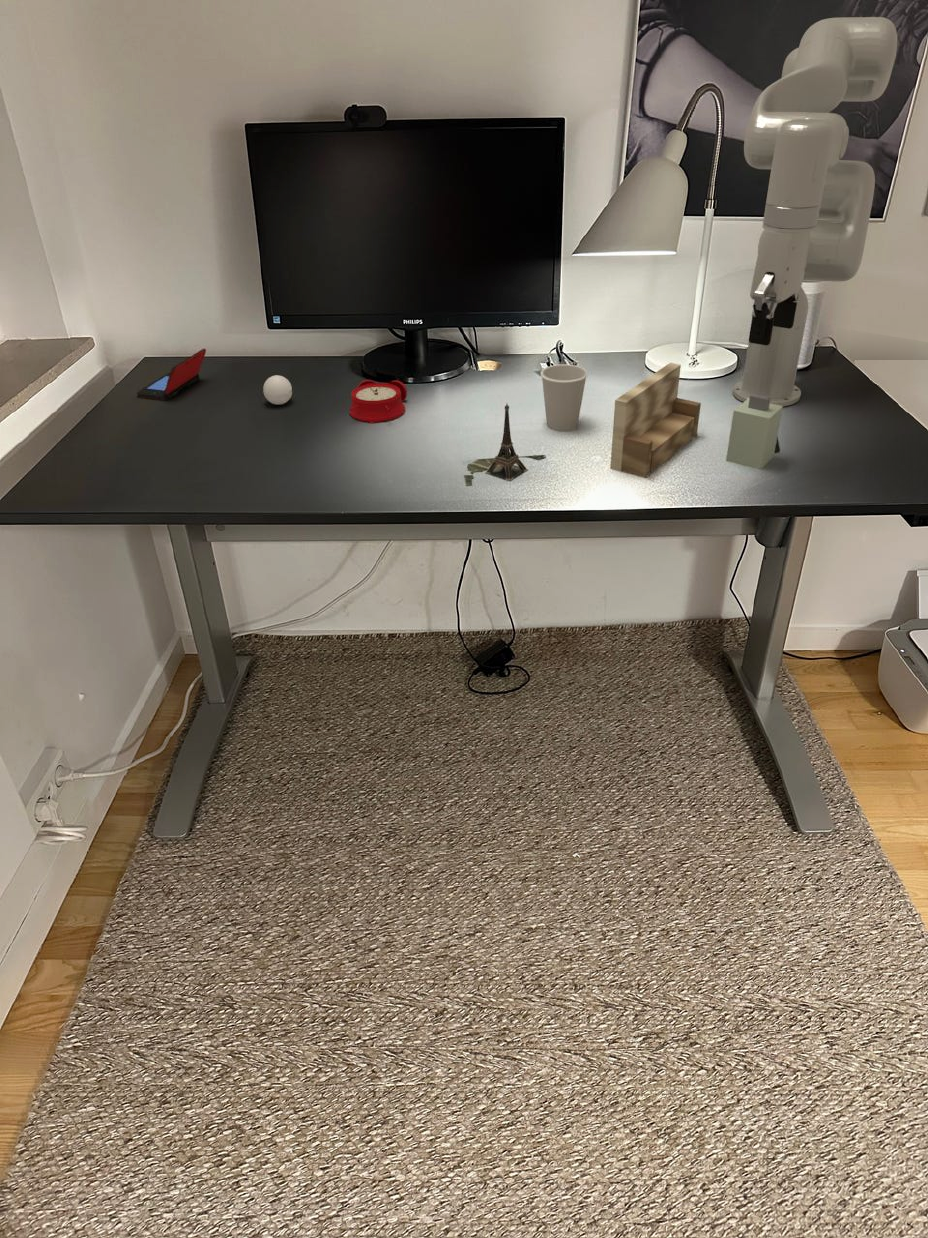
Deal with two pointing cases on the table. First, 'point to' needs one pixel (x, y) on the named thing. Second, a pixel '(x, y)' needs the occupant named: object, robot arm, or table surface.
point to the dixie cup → (563, 395)
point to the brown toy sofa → (652, 423)
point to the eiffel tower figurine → (501, 459)
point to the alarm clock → (378, 401)
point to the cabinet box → (754, 432)
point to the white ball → (277, 390)
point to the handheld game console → (175, 379)
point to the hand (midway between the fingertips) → (770, 334)
